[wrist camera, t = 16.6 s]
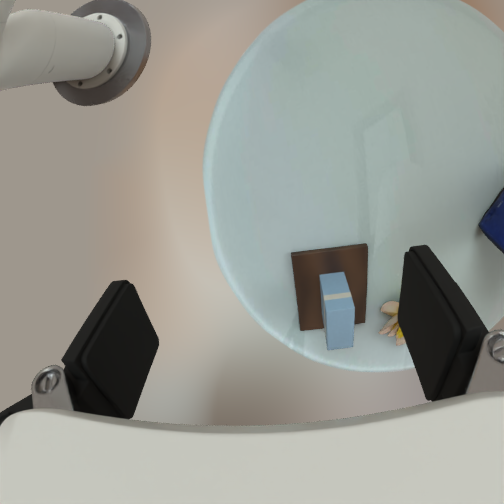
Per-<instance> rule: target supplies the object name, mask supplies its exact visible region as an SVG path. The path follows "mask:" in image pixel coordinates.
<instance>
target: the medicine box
mask: <svg viewBox="0 0 504 504" xmlns="http://www.w3.org/2000/svg"><path fill="white" fill-rule="evenodd" d="M319 276H320V291H321V308H322V317H323V323H324V330H325V337H326V343H327V350H334V349H341V348H349V347H353V340H354V318H355V307H354V303H353V300H352V296H351V292H350V290H349V286H348V283H347V280H346V277H345V274H344V272H337V273H329V274H321V275H319Z"/></svg>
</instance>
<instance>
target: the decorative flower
mask: <svg viewBox="0 0 504 504" xmlns="http://www.w3.org/2000/svg"><path fill="white" fill-rule="evenodd" d="M398 308H399V303H398V302H395V301H389V302H386V303H385V304H383V306H382V308H381V311H382V312H384V313H386V314H388V315H390V316H393V317H392V318H391V319H390V320H389V321H388V322H387V323H386V324H385V325H384V327H383V328H382V329H381V330H380V331H379V334H385V333H387V332H389V331H390V330H391V331H390V332H389V334H388V335H387V336H394V335H395V334H397V335H396V338H397V340H396V346H399V345H402V344H404V343H406V341H405V339H404V336H403V334H402V331H401V329H400V326H399V323H398Z"/></svg>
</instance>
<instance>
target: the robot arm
mask: <svg viewBox="0 0 504 504" xmlns="http://www.w3.org/2000/svg"><path fill="white" fill-rule="evenodd" d="M15 1H16V0H0V91H2V90H6V89H10V88H16V87H21V86H27V85H33V84H42V83H48V82H59V81H67V83H69V84H70V85H72V86H73V87H76V88H80V89H89V88H94V87H97V86H100V85H102V84H104V83H105V82H107V81H108V80H109V79H110V78H112V77H113V76H114V75H115V73H116V72H117V71H118V70H119V68H120V66H121V65H122V63H123V61H124V58H125V56H126V51H127V45H128V39H127V33H126V30H125V27H124V26H123V24H122V23H121V22H120V21H119V20H118V19H117V18H116V17H114V16H112V15H109V14H105V13H95V14H91V15H88V16H86V17H84V18H80V17H76V16H71V15H66V14H61V13H54V12H49V11H42V10H35V9H27V10H22V11H18V12H15V13H12V14H10V12H11V10H12V7H13V5H14V3H15ZM9 14H10V15H9ZM101 18H102V19H101ZM121 37H122V38H121ZM111 70H112V72H111ZM398 323H399V326H400V329H401V331H402V334H403V336H404V339H405V341H406V344H407V347H408V349H409V352H410V355H411V357H412V360H413V363H414V365H415V368H416V371H417V374H418V376H419V380H420V382H421V385H422V388H423V391H424V394H425V397H426V399H427V400H431V401H432V402H429V403H425V404H421V405H416V406H412V407H407V408H402V409H397V410H392V411H387V412H381V413H375V414H369V415H363V416H357V417H350V418H343V419H336V420H328V421H318V422H307V423H297V424H296V423H295V424H282V425H281V424H280V425H258V426H208V425H185V424H169V423H158V422H147V421H138V420H130V418H132V417H133V415H134V412H135V410H136V407H137V404H138V401H139V398H140V395H141V392H142V390H143V387H144V384H145V382H146V379H147V376H148V373H149V371H150V368H151V365H152V363H153V360H154V357H155V355H156V352H157V349H158V346H159V339H158V336H157V334H156V332H155V330H154V328H153V326H152V324H151V322H150V320H149V317H148V315H147V313H146V311H145V309H144V307H143V305H142V302H141V300H140V298H139V296H138V293H137V291H136V289H135V287H134V285H133V284H130V282H129V281H127V280H121V281H113V282H112V283H111V284H110V285H109V286H108V288H107V289H106V291H105V292H104V294H103V295H102V297H101V298H100V300H99V301H98V303H97V304H96V306H95V307H94V309H93V310H92V312H91V313H90V315H89V316H88V318H87V319H86V321H85V323H84V324H83V326H82V327H81V329H80V331H79V332H78V334H77V335H76V337H75V338H74V340H73V342H72V343H71V345H70V346H69V348H68V350H67V351H66V353H65V355H64V356H63V358H62V362H63V363H64V365H65V368H64V370H63V369H62V368H61V367H60V366H57V365H52V366H48V367H46V368H44V369H43V370H41V371H40V372H39V373H38V374H37V375H36V376H35V378H34V380H33V382H32V388H31V390H32V394H31V395H29V396H27V397H26V398H24V399H22V400H21V401H19V402H17V403H15V404H14V405H12V406H10V407H9V408H7V409H5V410H4V411H2V412H1V413H0V504H504V330H494V331H491V332H488V330H487V328H486V327H485V325H484V324H483V322H482V320H481V319H480V317H479V316H478V314H477V313H476V311H475V310H474V308H473V307H472V305H471V304H470V302H469V301H468V299H467V298H466V296H465V295H464V293H463V292H462V290H461V289H460V287H459V286H458V285H457V283H456V282H455V281H454V280H453V279H452V277H451V276H450V275H449V273H448V272H447V270H446V269H445V268H444V266H443V265H442V264H441V262H440V261H439V260H438V258H437V257H436V256H435V254H434V253H433V252H432V251H431V249H430V248H429V247H428V246H427V245H421V246H413V247H410V249H409V252H405V255H404V265H403V275H402V284H401V293H400V301H399V308H398Z"/></svg>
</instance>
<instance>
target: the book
mask: <svg viewBox="0 0 504 504" xmlns="http://www.w3.org/2000/svg"><path fill="white" fill-rule="evenodd" d="M479 227H480V228H481V230H482V231H483V233H484V234H485V235H486V236H487V238H488V239H489V240H490V241H491V242H492V243H493V244H494V245H495V246H497V248H498V249H500V250H501V251H502V252H503V253H504V188H503V189H502V191H501V192H500V193H499V195H498V196H497V197H496V199H495V201H494V202H493V203H492V205H491V206H490V208H489V209H488V210H487V212H486V213H485V215H484V216H483V219H482V220H481V222H480V223H479Z"/></svg>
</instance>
